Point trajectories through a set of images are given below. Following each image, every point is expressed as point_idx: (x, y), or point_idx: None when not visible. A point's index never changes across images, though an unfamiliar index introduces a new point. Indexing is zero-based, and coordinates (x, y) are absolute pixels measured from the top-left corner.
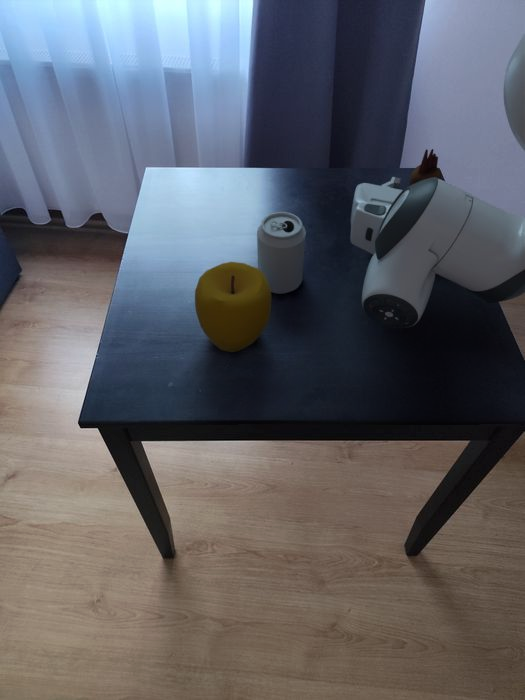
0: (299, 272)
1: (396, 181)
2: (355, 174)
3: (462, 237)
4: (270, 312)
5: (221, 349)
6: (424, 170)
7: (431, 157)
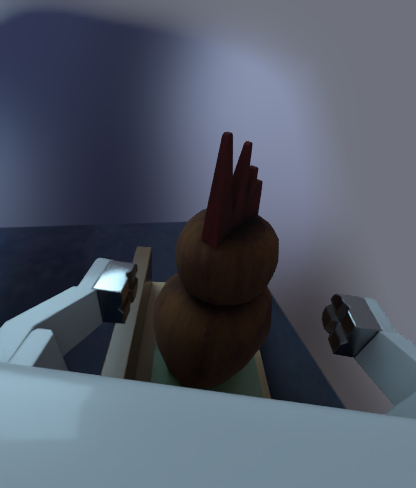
0: None
1: (108, 283)
2: (108, 226)
3: None
4: None
5: None
6: (224, 230)
7: (245, 179)
